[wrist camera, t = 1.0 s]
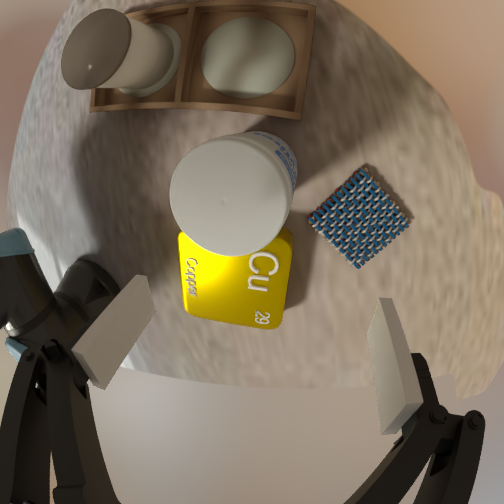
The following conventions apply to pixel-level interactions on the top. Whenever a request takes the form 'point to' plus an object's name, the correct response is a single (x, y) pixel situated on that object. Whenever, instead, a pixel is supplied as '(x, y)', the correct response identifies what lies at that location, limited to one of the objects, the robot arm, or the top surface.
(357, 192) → the woven mat
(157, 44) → the canister
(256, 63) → the crate
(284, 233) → the element tile
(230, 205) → the supplement tub
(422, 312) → the top surface
